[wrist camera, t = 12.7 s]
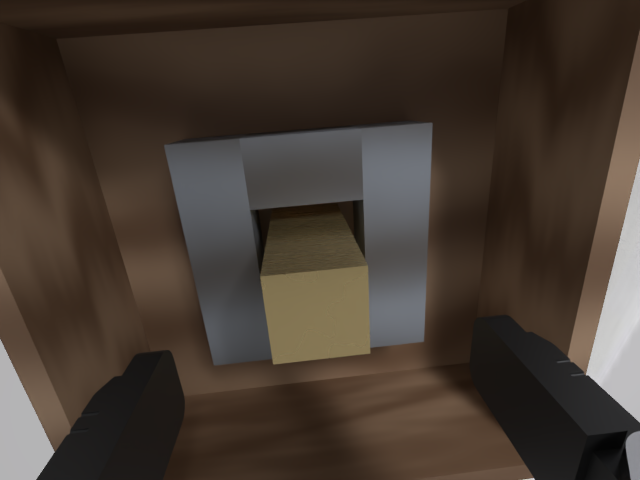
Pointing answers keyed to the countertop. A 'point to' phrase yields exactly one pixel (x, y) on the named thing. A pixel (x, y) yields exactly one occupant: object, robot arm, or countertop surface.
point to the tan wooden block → (314, 285)
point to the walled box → (306, 189)
